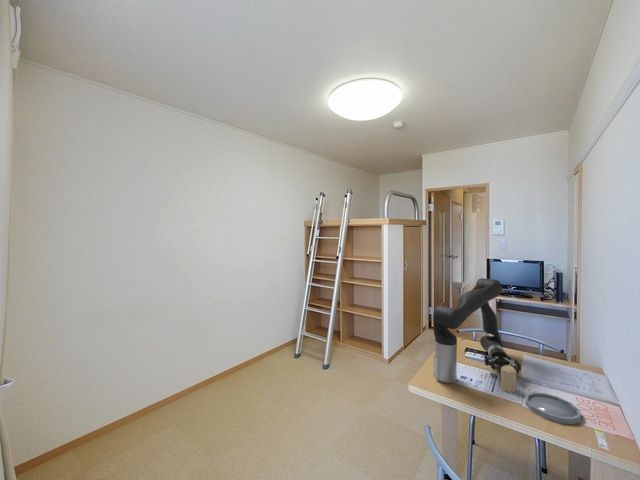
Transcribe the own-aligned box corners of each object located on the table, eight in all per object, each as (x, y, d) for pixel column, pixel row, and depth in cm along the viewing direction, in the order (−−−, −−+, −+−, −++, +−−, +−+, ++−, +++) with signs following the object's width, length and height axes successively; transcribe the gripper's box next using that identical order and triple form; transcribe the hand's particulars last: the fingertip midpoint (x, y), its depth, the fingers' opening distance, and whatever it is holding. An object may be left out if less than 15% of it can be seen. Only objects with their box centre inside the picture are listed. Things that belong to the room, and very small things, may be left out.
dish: (542, 422, 101) (542, 416, 101) (517, 395, 117) (517, 391, 117) (592, 425, 99) (592, 420, 99) (560, 398, 115) (560, 393, 115)
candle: (516, 394, 118) (516, 370, 118) (500, 390, 121) (501, 367, 121) (515, 387, 123) (516, 365, 123) (500, 384, 126) (500, 362, 126)
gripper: (481, 345, 144) (487, 359, 129) (514, 349, 139) (524, 364, 124) (481, 360, 144) (487, 375, 129) (514, 364, 139) (524, 381, 124)
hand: (505, 369), depth 127 cm, fingers open, 8 cm apart
